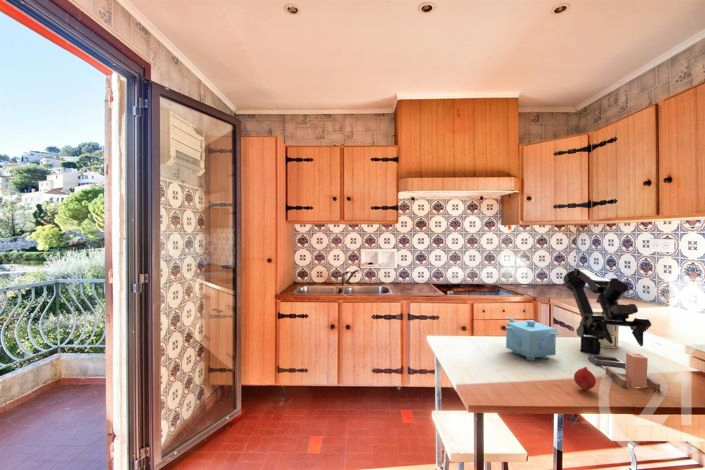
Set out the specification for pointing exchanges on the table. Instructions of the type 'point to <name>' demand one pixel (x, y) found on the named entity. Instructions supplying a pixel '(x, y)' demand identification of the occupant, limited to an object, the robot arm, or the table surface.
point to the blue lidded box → (530, 339)
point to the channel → (623, 382)
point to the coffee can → (613, 332)
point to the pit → (606, 361)
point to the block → (636, 370)
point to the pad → (617, 370)
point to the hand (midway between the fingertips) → (626, 344)
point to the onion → (584, 379)
